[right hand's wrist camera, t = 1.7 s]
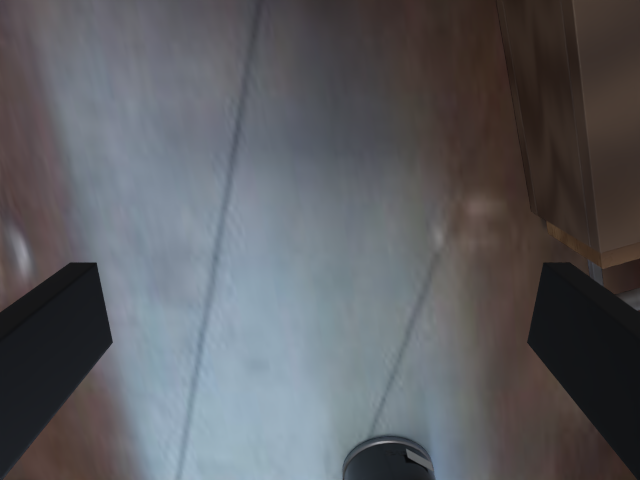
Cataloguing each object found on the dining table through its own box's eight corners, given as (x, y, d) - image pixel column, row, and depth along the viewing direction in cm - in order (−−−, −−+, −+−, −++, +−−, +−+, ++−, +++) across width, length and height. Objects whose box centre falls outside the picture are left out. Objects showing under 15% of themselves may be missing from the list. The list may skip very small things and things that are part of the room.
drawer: (675, 259, 34) (758, 300, 28) (557, 292, 36) (610, 339, 29) (659, -91, 26) (772, -149, 20) (506, -34, 27) (564, -71, 21)
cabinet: (669, 169, 33) (789, 198, 24) (531, 212, 34) (600, 253, 26) (655, -146, 26) (815, -257, 18) (482, -79, 27) (555, -153, 19)
